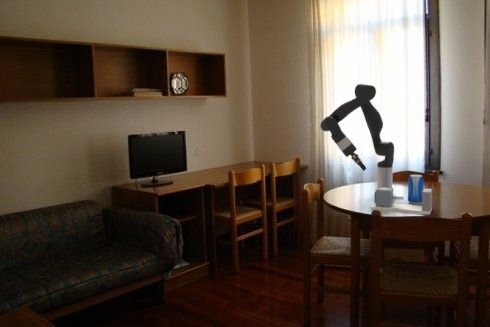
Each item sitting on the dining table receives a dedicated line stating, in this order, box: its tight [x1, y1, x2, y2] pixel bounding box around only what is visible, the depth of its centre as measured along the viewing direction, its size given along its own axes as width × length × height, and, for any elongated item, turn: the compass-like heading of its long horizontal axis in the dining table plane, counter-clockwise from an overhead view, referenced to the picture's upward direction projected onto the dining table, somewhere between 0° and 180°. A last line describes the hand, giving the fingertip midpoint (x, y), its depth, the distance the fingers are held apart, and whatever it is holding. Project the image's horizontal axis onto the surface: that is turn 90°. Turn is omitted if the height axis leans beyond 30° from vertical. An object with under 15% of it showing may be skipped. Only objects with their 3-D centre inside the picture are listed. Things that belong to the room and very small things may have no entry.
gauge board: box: [370, 187, 433, 215], centre depth 247 cm, size 12×30×12 cm, turn 63°
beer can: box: [407, 174, 425, 205], centre depth 261 cm, size 8×8×16 cm
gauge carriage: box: [374, 187, 405, 207], centre depth 249 cm, size 10×15×9 cm, turn 63°
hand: (364, 169), depth 254 cm, fingers open, 8 cm apart
